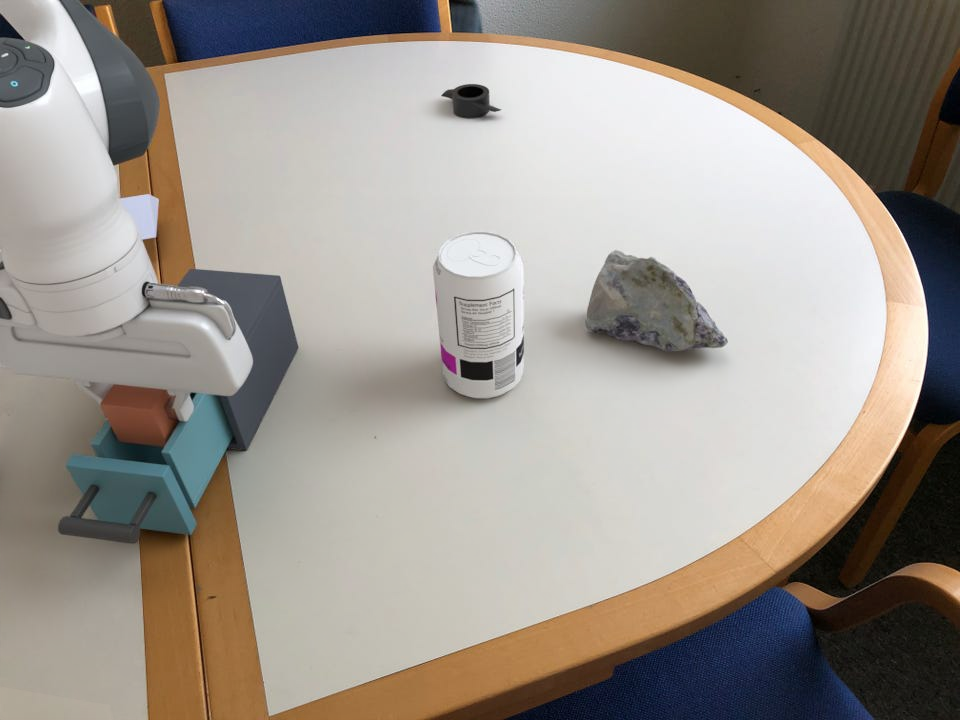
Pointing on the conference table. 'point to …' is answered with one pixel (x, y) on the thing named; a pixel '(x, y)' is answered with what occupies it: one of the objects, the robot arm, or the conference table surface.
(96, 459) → the drawer
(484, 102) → the black finned ring
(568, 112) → the conference table surface
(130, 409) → the block
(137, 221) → the lavender piece
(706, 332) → the mineral rock
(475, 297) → the supplement can
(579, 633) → the conference table surface
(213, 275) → the grey drawer cabinet
